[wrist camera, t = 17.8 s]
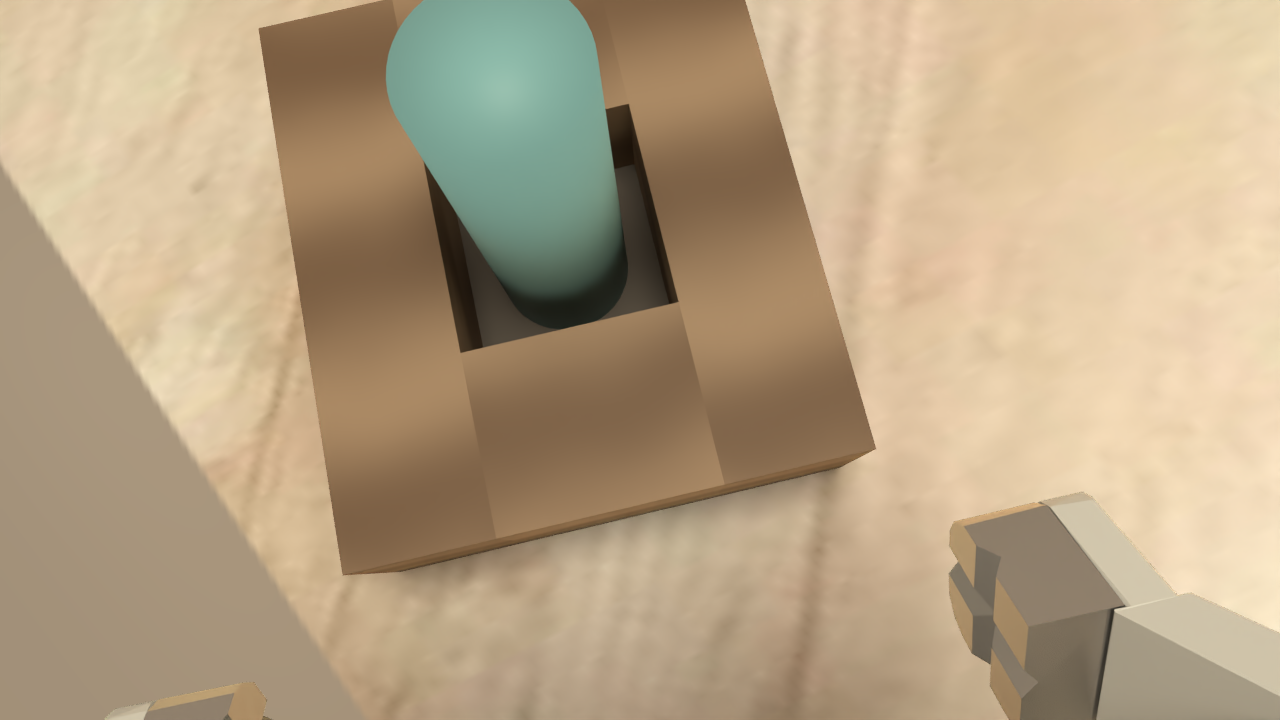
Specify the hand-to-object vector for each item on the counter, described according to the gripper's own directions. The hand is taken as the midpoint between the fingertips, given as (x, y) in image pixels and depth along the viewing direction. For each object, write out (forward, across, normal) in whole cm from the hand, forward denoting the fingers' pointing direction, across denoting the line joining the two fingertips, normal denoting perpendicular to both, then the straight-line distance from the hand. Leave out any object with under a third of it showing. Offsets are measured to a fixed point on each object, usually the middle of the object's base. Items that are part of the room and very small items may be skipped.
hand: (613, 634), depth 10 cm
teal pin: (+19, 0, +4) cm, 19 cm away
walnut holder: (+19, 0, +5) cm, 20 cm away
